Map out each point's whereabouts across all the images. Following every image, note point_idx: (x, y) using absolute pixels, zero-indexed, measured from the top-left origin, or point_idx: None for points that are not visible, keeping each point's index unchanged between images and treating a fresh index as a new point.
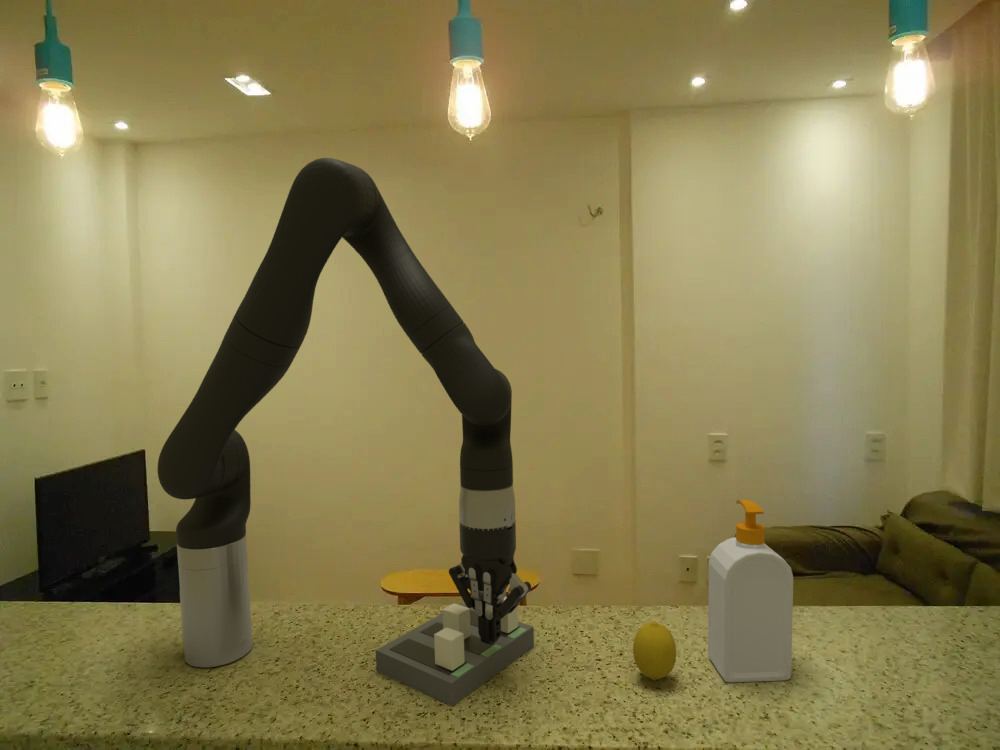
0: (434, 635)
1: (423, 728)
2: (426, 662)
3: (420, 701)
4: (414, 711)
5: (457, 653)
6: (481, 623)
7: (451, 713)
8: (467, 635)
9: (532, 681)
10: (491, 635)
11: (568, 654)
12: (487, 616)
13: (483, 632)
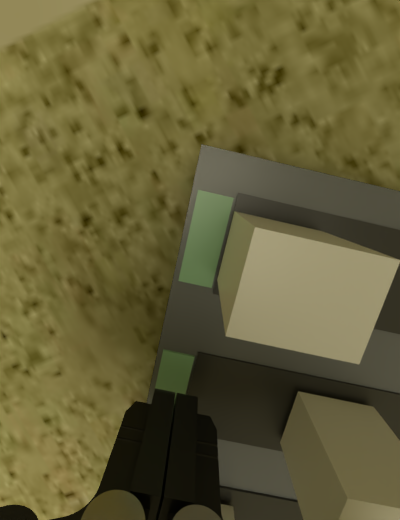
0: (394, 259)
1: (231, 10)
2: (362, 234)
3: (306, 138)
4: (300, 81)
5: (231, 255)
6: (187, 465)
7: (188, 121)
8: (286, 434)
9: (56, 348)
10: (141, 422)
11: (34, 482)
12: (122, 509)
13: (178, 425)
